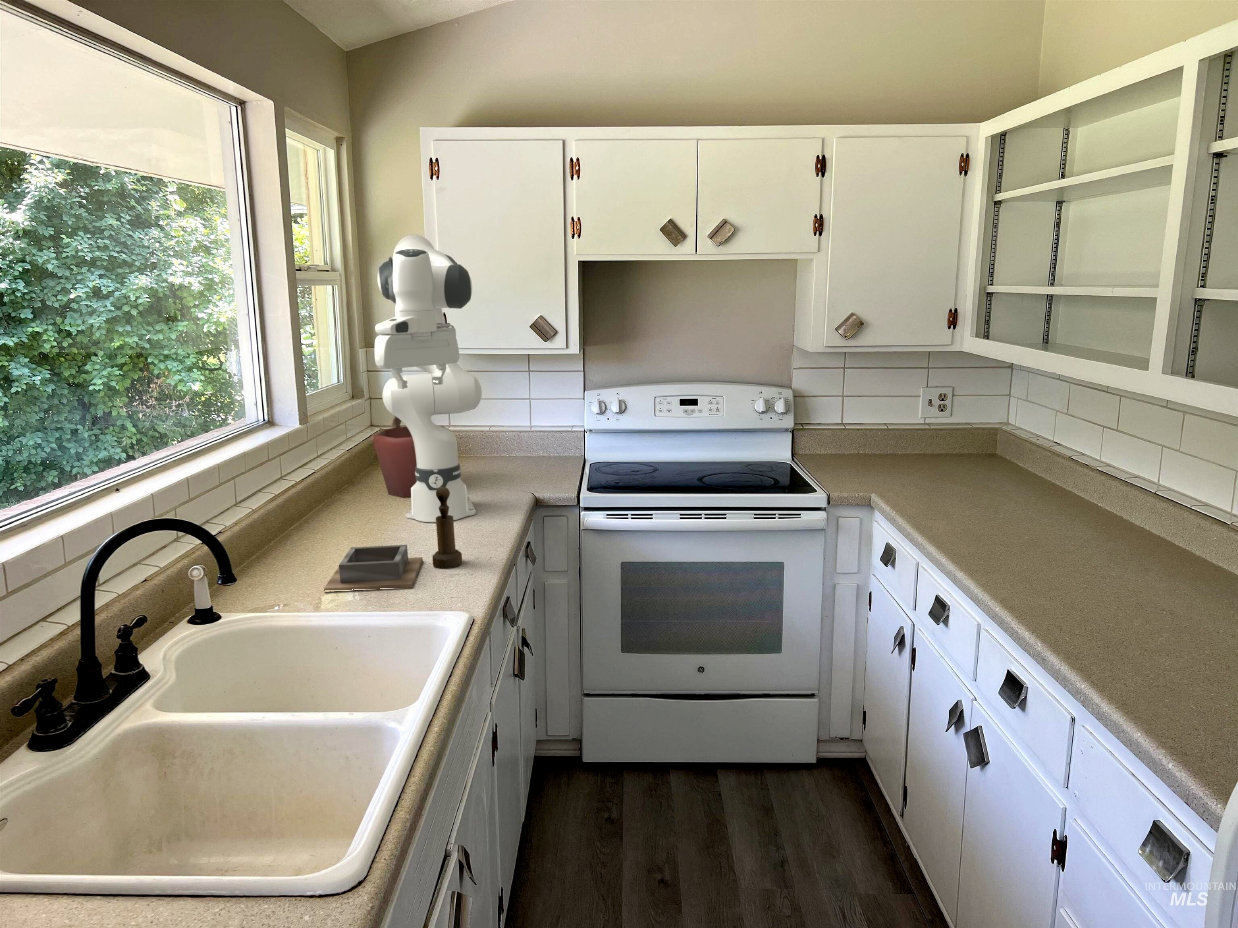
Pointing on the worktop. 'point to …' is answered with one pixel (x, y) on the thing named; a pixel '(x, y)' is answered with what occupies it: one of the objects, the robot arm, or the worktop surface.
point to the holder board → (375, 569)
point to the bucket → (397, 458)
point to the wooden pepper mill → (445, 535)
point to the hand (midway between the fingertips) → (420, 386)
